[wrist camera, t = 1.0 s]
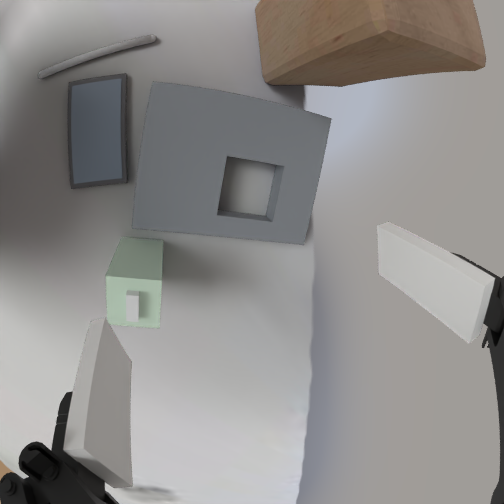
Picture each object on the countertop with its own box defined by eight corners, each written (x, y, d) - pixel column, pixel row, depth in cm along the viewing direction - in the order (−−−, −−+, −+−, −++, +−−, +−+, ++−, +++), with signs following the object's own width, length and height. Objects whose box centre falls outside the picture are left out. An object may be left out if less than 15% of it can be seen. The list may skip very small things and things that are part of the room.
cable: (40, 80, 21) (36, 79, 20) (39, 73, 20) (36, 71, 20) (156, 42, 23) (156, 39, 22) (155, 35, 23) (155, 32, 22)
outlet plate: (134, 221, 29) (131, 228, 27) (154, 85, 25) (152, 81, 23) (295, 237, 35) (303, 245, 33) (320, 119, 30) (331, 118, 28)
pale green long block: (120, 275, 31) (106, 329, 22) (122, 236, 29) (103, 280, 20) (160, 278, 32) (159, 334, 23) (163, 240, 31) (161, 285, 22)
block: (260, 86, 28) (387, 34, 10) (251, 5, 24) (347, -101, 6) (343, 88, 30) (493, 73, 12) (333, 13, 26) (461, -43, 8)
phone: (73, 187, 26) (71, 189, 25) (71, 83, 22) (68, 82, 21) (127, 181, 28) (126, 182, 27) (127, 75, 24) (125, 73, 23)
